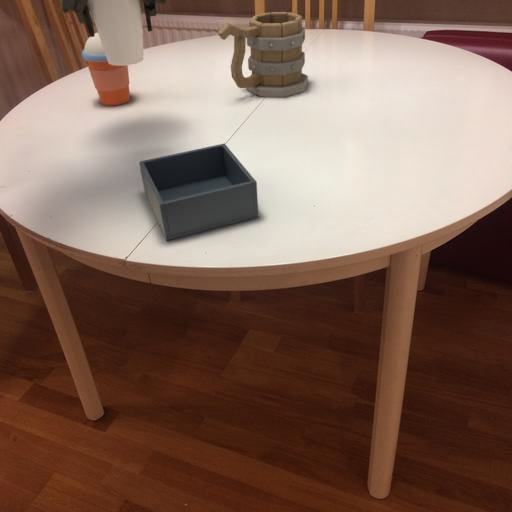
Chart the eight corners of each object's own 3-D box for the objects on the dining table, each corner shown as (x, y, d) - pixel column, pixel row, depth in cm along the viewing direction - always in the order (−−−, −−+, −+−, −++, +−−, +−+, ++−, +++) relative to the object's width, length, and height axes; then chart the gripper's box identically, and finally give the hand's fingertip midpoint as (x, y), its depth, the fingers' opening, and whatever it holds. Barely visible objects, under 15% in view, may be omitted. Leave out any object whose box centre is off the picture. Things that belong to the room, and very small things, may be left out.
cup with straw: (96, 94, 115) (76, 6, 104) (138, 91, 116) (122, 2, 105) (91, 110, 108) (68, 16, 97) (135, 106, 108) (117, 13, 98)
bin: (166, 240, 69) (159, 204, 66) (145, 194, 79) (138, 161, 76) (258, 217, 73) (256, 181, 70) (227, 175, 83) (224, 143, 79)
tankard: (283, 72, 121) (282, 2, 112) (318, 87, 112) (320, 12, 103) (208, 93, 113) (200, 18, 103) (239, 111, 104) (233, 31, 95)
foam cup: (127, 49, 99) (113, -28, 91) (163, 56, 94) (151, -25, 87) (87, 63, 93) (69, -18, 85) (124, 71, 88) (108, -14, 81)
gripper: (16, -37, 69) (59, 52, 91) (182, -50, 72) (185, 40, 94) (9, -88, 70) (53, 13, 92) (174, -98, 73) (179, 2, 95)
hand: (120, 27), depth 93 cm, fingers closed on foam cup, 9 cm apart
